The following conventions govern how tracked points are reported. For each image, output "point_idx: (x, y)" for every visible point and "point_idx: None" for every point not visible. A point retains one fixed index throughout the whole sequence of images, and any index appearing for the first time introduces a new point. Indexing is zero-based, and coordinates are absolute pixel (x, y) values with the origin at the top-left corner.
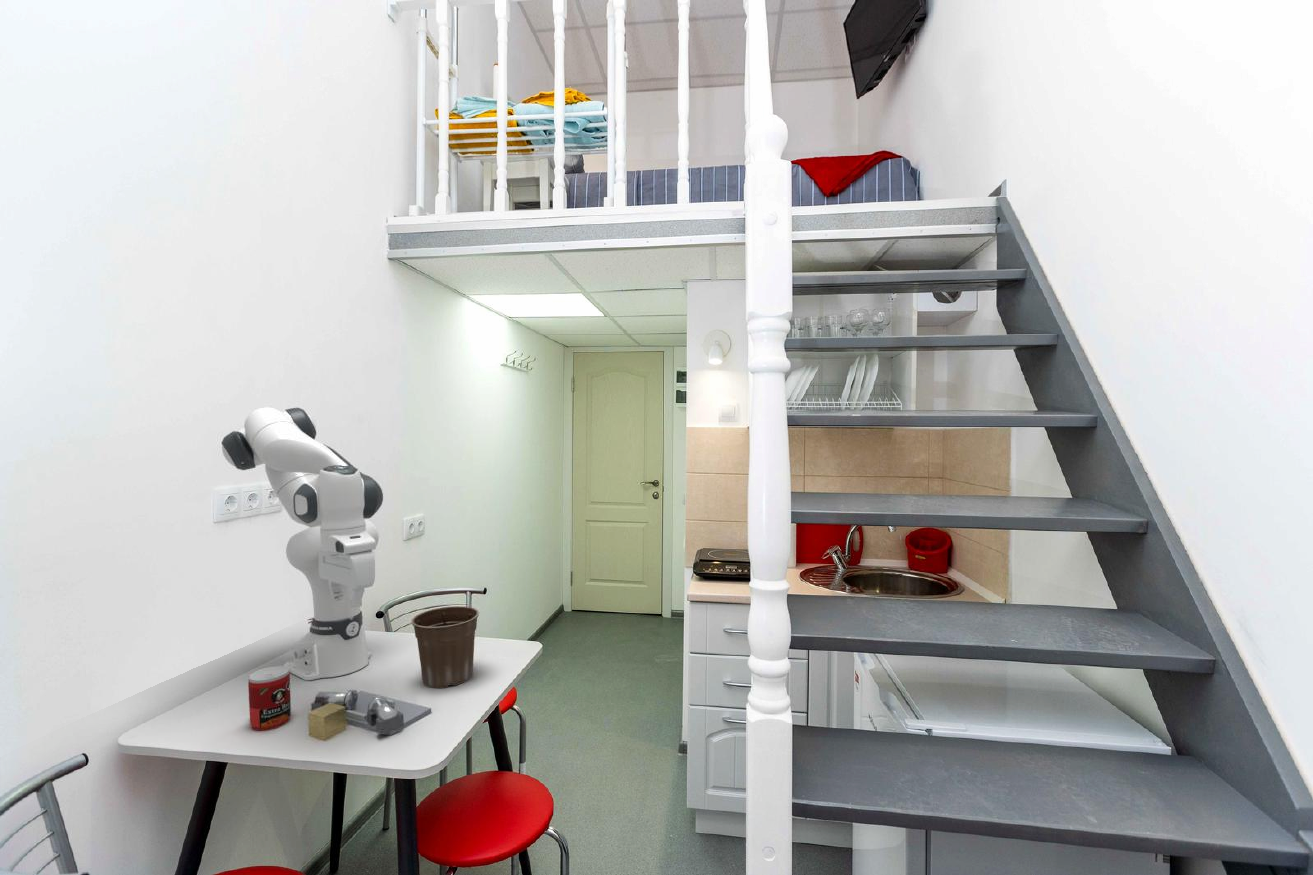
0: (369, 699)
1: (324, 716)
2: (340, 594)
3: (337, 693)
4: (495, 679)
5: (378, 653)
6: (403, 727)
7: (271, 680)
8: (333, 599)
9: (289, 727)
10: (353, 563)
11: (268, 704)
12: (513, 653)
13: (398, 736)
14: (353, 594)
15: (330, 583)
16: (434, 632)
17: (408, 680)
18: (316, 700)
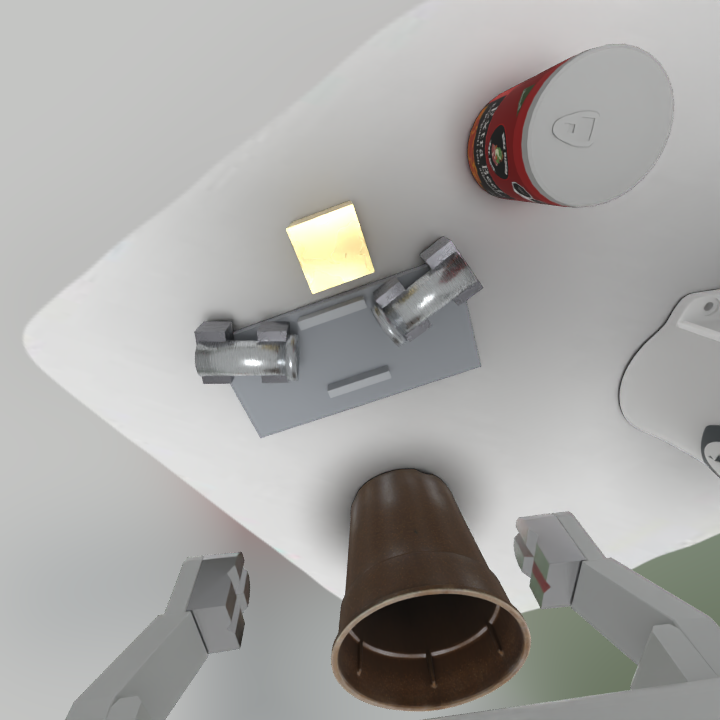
0: (414, 364)
1: (289, 232)
2: (534, 581)
3: (419, 305)
4: (320, 557)
5: (672, 461)
6: None
7: (527, 121)
8: (549, 517)
9: (441, 177)
10: None
11: (496, 119)
12: None
13: None
14: (111, 676)
15: (682, 643)
16: (366, 598)
17: (462, 454)
18: (452, 256)
